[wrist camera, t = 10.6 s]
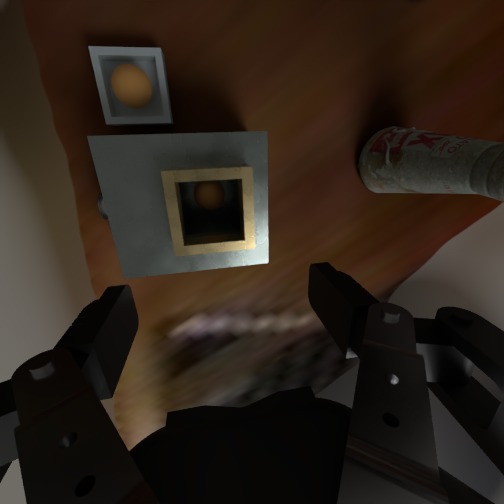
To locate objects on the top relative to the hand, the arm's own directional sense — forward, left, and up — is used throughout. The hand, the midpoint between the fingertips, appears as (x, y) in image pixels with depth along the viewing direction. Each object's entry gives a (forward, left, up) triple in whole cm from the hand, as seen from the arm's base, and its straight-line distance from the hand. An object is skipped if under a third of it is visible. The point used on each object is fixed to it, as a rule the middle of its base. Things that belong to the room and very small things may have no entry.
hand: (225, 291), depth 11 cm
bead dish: (+7, -12, -26) cm, 30 cm away
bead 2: (0, 0, -26) cm, 26 cm away
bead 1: (+7, -12, -26) cm, 29 cm away
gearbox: (+2, 0, -26) cm, 26 cm away
